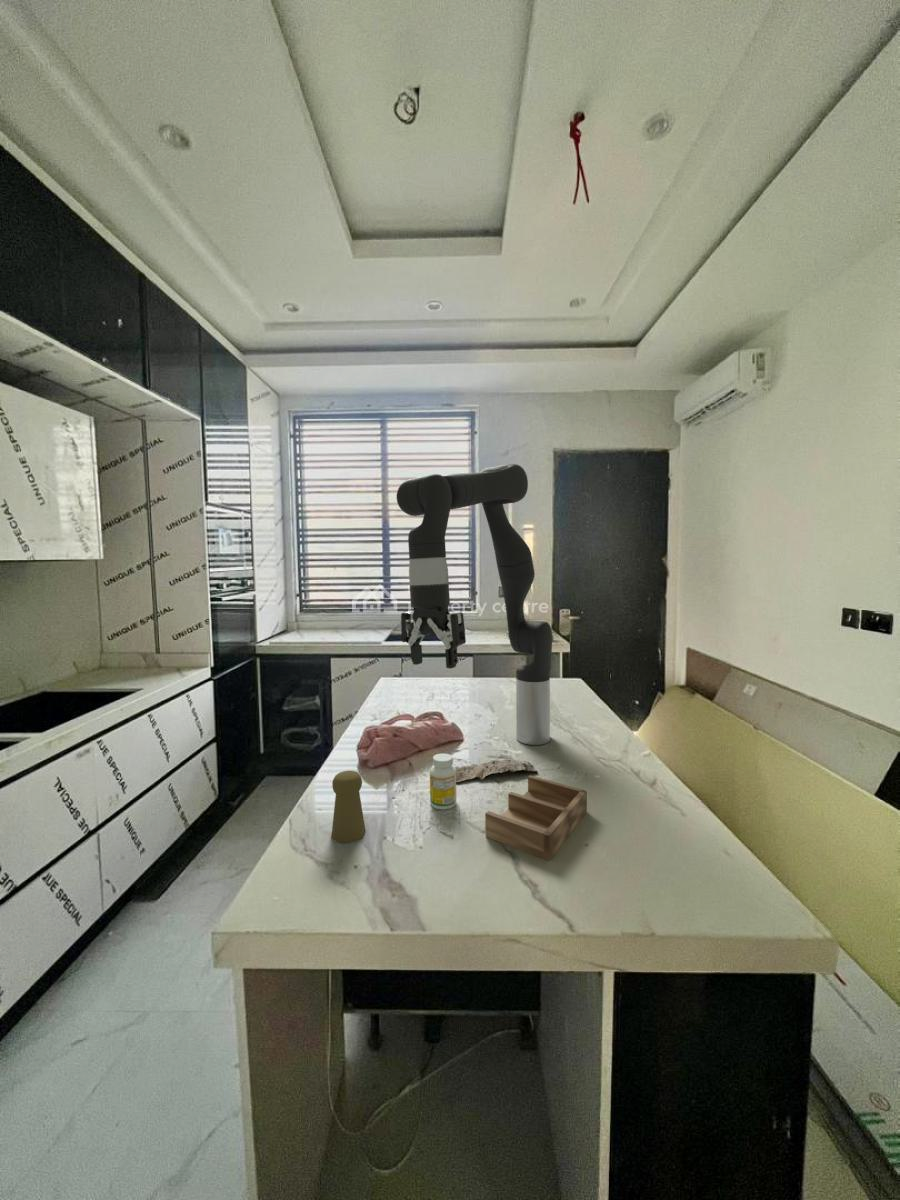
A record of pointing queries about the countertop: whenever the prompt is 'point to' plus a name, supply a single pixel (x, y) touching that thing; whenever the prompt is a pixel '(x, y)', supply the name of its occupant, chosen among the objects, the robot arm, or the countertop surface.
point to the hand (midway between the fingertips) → (433, 665)
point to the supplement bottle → (443, 782)
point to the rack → (538, 817)
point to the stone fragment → (491, 769)
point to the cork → (347, 808)
